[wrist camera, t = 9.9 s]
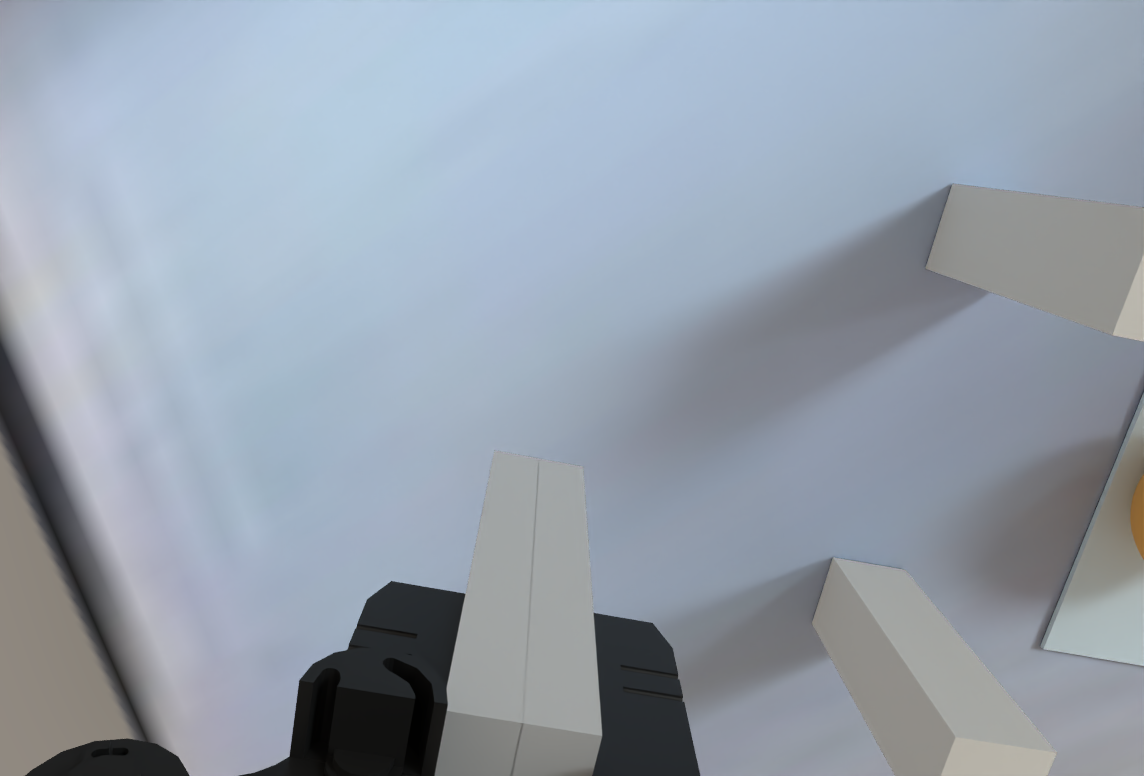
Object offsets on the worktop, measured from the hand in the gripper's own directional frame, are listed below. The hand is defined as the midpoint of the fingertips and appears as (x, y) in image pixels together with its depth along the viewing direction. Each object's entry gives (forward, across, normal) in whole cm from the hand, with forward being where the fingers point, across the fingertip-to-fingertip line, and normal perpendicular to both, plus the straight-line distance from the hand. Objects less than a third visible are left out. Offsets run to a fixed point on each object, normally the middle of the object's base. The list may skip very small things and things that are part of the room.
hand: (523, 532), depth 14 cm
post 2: (+13, +12, -7) cm, 19 cm away
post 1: (+13, +12, +6) cm, 19 cm away
